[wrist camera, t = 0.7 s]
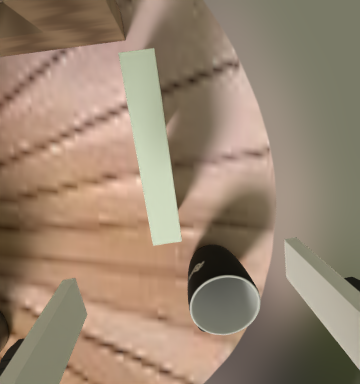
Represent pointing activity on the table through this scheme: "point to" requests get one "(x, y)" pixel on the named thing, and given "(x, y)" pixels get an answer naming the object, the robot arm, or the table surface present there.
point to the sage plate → (151, 143)
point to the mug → (220, 292)
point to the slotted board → (57, 24)
